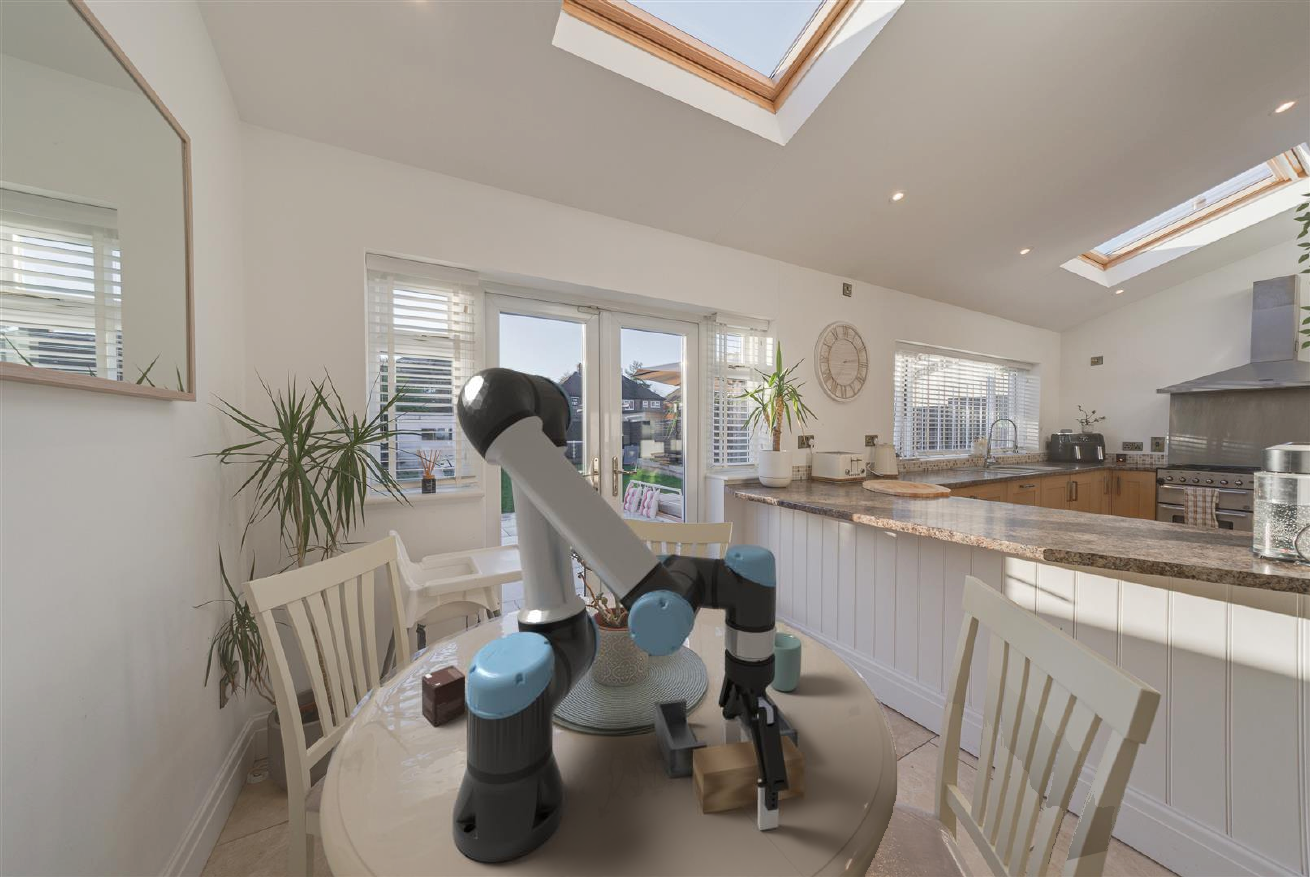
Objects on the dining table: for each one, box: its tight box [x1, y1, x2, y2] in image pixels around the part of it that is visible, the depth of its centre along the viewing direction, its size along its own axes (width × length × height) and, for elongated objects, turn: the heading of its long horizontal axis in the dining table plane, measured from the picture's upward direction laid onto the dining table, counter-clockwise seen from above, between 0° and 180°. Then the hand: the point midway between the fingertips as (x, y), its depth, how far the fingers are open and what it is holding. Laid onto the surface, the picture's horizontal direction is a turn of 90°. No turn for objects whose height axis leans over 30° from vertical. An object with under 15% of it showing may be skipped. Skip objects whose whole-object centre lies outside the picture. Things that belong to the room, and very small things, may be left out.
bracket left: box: [653, 698, 708, 779], centre depth 77 cm, size 6×13×4 cm, turn 12°
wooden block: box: [692, 735, 805, 814], centre depth 68 cm, size 16×5×6 cm, turn 102°
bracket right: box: [736, 692, 799, 748], centre depth 81 cm, size 6×13×4 cm, turn 12°
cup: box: [769, 631, 803, 692], centre depth 97 cm, size 8×8×10 cm
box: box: [421, 664, 466, 727], centre depth 86 cm, size 6×6×7 cm
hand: (748, 789), depth 68 cm, fingers open, 12 cm apart
